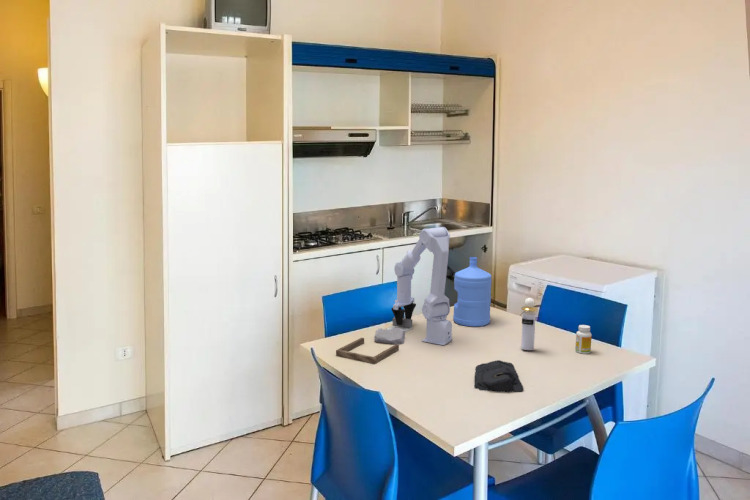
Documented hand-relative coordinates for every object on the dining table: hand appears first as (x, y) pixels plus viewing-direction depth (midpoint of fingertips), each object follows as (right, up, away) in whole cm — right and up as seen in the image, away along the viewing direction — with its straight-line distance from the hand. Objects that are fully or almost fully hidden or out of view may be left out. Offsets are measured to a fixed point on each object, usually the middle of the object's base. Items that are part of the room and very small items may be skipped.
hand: (403, 322), depth 263 cm
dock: (-14, -7, -30) cm, 34 cm away
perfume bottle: (+45, -7, -28) cm, 53 cm away
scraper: (-2, -3, -3) cm, 5 cm away
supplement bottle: (+65, -8, -29) cm, 71 cm away
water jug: (+29, -1, +8) cm, 30 cm away
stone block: (-6, -6, -16) cm, 19 cm away
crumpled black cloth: (+28, -13, -55) cm, 64 cm away
